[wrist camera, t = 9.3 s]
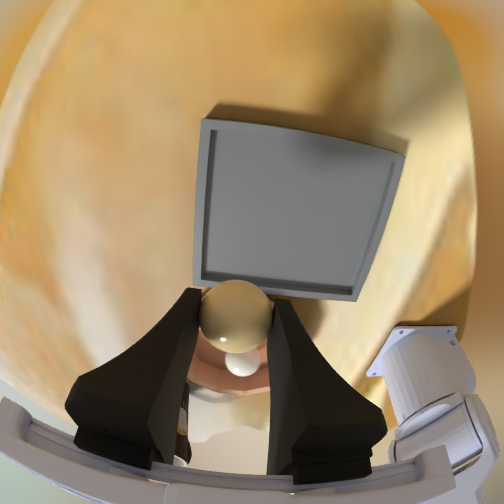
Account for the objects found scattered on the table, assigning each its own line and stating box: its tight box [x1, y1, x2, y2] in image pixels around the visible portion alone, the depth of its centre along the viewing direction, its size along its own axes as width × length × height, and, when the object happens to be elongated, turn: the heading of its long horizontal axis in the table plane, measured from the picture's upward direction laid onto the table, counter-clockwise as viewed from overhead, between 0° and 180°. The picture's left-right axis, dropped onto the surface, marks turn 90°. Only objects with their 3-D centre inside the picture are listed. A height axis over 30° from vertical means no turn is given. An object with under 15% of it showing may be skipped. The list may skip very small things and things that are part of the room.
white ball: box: [225, 348, 261, 376], centre depth 24 cm, size 3×3×3 cm
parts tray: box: [193, 118, 405, 302], centre depth 19 cm, size 13×12×1 cm
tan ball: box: [199, 280, 273, 353], centre depth 12 cm, size 3×3×3 cm
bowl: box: [187, 297, 275, 395], centre depth 25 cm, size 11×11×3 cm
